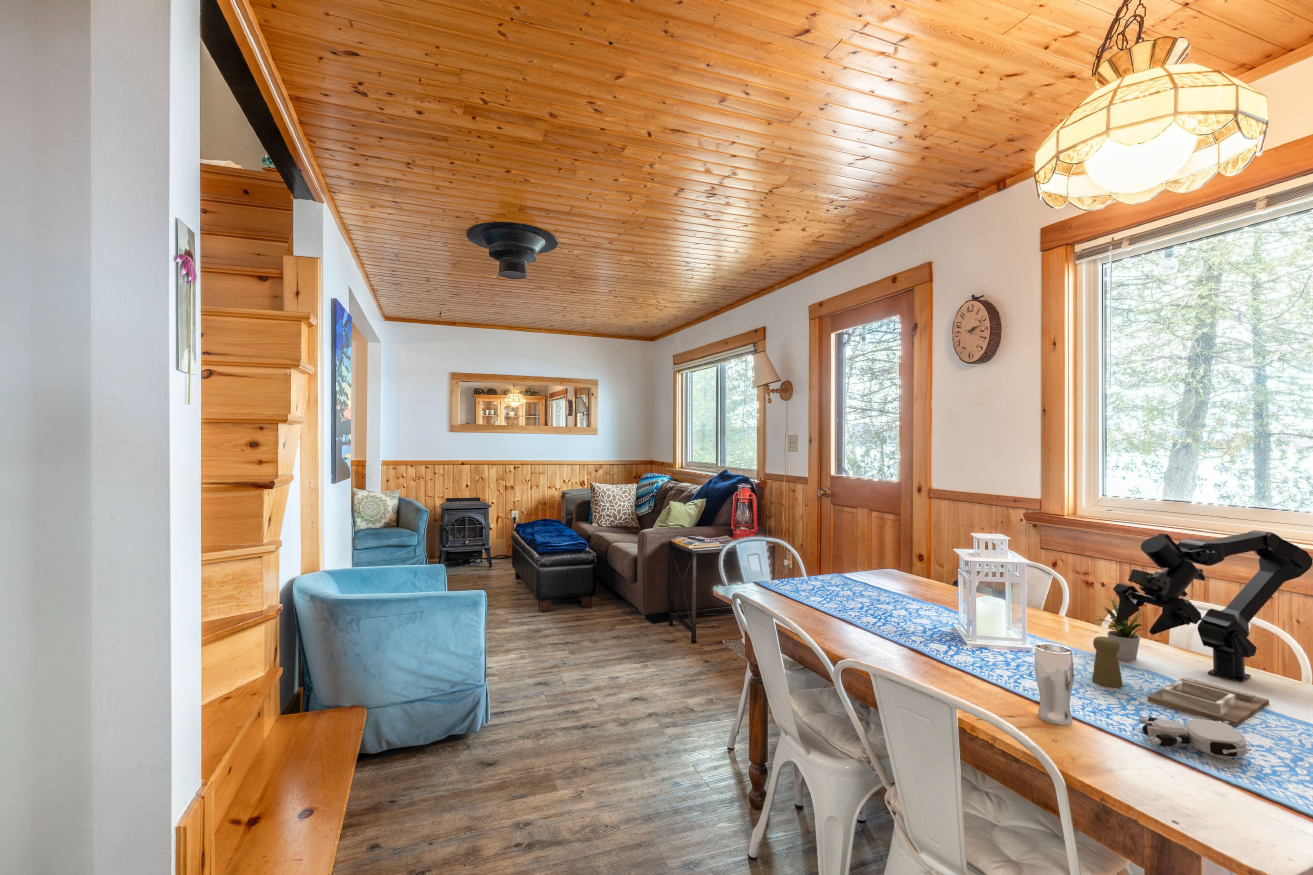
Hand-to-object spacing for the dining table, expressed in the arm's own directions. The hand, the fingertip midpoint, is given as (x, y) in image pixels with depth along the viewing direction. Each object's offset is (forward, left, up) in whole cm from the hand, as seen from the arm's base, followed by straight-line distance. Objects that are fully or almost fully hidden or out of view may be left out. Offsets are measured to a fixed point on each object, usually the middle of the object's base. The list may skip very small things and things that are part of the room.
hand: (1133, 627), depth 147 cm
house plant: (-17, -10, -13) cm, 24 cm away
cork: (+7, -3, -13) cm, 15 cm away
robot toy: (+29, +20, -14) cm, 37 cm away
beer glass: (+38, 0, -13) cm, 40 cm away
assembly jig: (+1, +14, -13) cm, 19 cm away
